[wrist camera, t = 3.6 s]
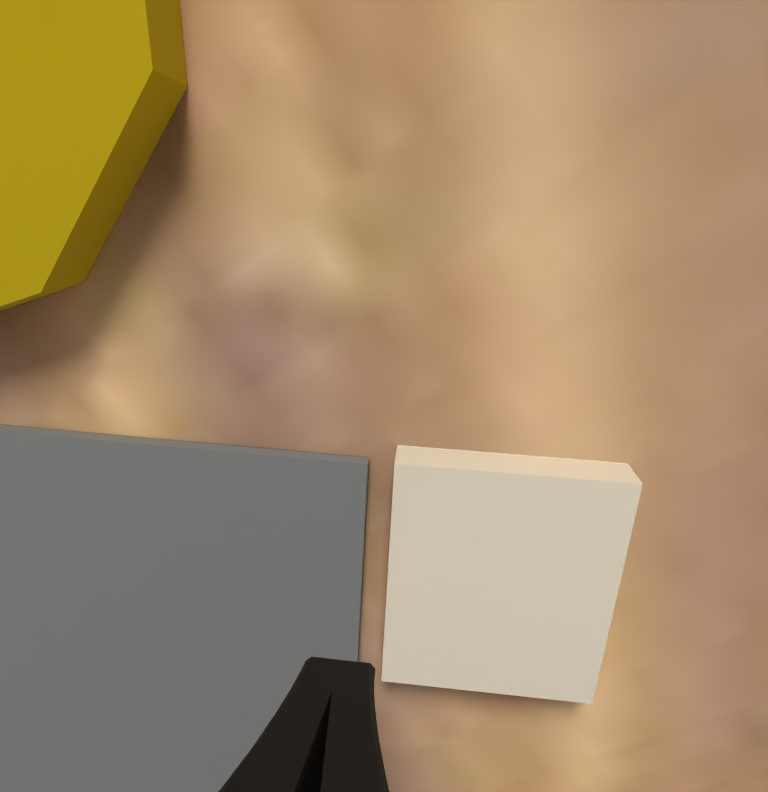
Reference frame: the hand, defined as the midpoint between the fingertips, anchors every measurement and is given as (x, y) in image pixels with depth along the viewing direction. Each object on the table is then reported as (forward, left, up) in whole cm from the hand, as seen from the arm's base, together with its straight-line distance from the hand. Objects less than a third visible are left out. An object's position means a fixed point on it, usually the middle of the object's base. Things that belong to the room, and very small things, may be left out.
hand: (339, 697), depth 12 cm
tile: (0, -1, -5) cm, 5 cm away
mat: (-5, +8, -5) cm, 11 cm away
